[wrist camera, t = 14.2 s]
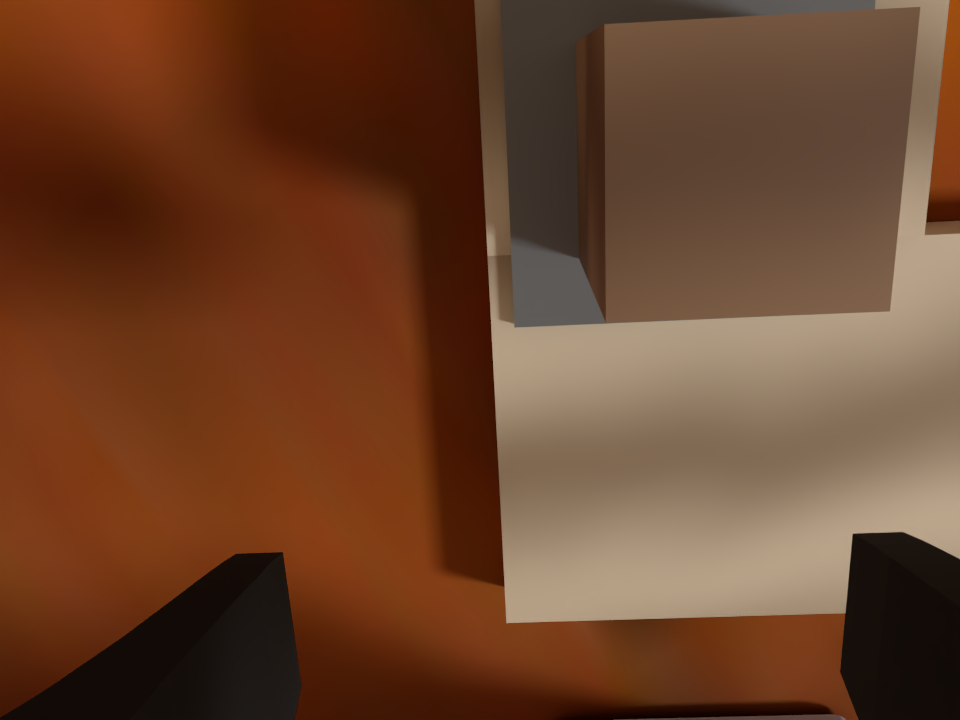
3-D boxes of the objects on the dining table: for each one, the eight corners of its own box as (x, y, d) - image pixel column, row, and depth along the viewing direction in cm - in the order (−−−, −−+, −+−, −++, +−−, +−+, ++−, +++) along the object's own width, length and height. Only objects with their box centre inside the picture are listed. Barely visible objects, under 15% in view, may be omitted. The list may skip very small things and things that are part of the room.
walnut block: (785, 249, 17) (890, 311, 13) (578, 258, 18) (606, 322, 13) (798, 29, 16) (920, 7, 11) (575, 41, 16) (604, 23, 12)
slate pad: (844, 309, 18) (850, 312, 18) (514, 323, 18) (514, 327, 18) (873, -54, 16) (880, -57, 16) (498, -31, 16) (499, -33, 16)
